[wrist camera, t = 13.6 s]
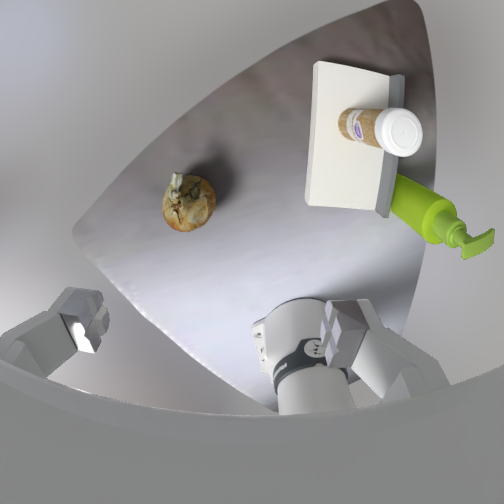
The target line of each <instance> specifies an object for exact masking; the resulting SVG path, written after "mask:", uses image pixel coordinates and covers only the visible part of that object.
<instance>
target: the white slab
mask: <svg viewBox="0 0 504 504" xmlns="http://www.w3.org/2000/svg"><path fill="white" fill-rule="evenodd" d="M404 90H405V76H404V75H401V74H398V75H393V76H387V75H383V74H380V73H376V72H372V71H368V70H364V69H360V68H355V67H350V66H346V65H340V64H335V63H329V62H323V61H318V62H316V63H315V64H314V65H313V91H312V111H311V128H310V142H309V155H308V167H307V179H306V190H305V200H306V202H307V204H308V205H311V206H327V207H341V208H354V209H366V210H375V211H376V212H377V213H379V214H380V215H381V216H382V217H383V218H388V216H389V212H390V207H391V202H392V196H393V191H394V185H395V179H396V173H397V166H398V159H399V156H397V155H393V154H391V153H388V152H386V151H385V150H384V149H381V148H377V147H374V146H369V145H366V144H363V143H359V142H357V141H351V140H348V139H346V138H345V137H344V136H343V135H342V134H341V132H340V131H339V128H338V119H339V116H340V115H341V113H342V112H343V111H345V110H346V109H350V108H355V109H361V108H381V109H388V108H403V109H404Z"/></svg>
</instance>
